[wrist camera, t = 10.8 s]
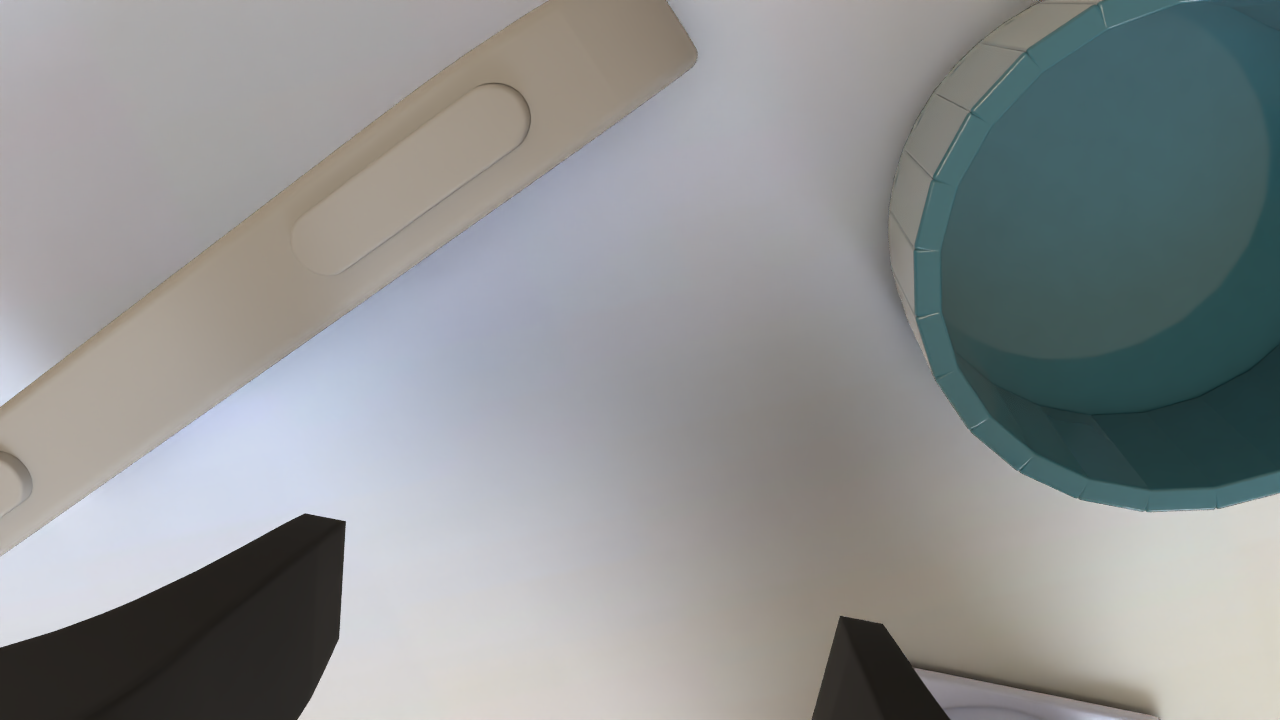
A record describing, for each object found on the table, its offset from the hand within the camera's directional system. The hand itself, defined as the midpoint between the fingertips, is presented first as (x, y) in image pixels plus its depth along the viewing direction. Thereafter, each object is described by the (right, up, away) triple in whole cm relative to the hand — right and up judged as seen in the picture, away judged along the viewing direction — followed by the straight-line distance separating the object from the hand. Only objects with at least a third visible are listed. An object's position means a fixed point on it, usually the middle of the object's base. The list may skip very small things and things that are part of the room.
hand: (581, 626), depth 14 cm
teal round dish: (+11, +7, +7) cm, 15 cm away
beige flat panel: (-6, +6, +10) cm, 13 cm away
